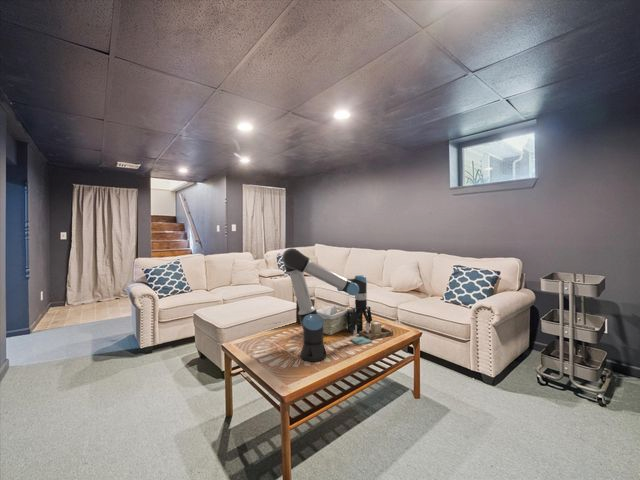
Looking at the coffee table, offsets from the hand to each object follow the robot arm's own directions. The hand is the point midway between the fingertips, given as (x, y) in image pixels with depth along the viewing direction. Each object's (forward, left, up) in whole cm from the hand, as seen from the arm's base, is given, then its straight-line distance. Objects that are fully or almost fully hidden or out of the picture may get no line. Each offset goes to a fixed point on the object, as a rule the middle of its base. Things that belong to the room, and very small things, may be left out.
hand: (361, 333), depth 191 cm
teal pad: (0, 0, -5) cm, 5 cm away
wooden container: (-15, +56, -5) cm, 58 cm away
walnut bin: (+16, +5, -5) cm, 17 cm away
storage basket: (-6, +30, -5) cm, 31 cm away
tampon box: (+9, +21, -5) cm, 23 cm away
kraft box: (+16, +5, -5) cm, 17 cm away
